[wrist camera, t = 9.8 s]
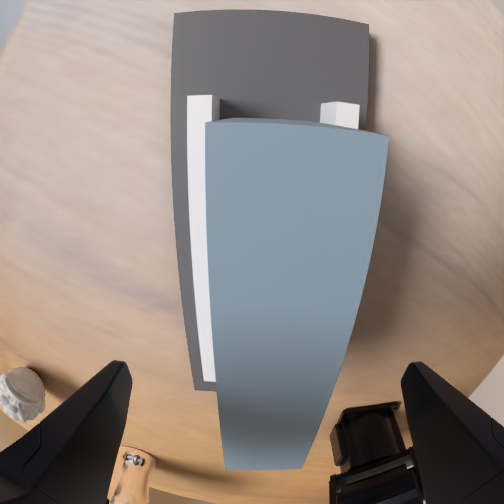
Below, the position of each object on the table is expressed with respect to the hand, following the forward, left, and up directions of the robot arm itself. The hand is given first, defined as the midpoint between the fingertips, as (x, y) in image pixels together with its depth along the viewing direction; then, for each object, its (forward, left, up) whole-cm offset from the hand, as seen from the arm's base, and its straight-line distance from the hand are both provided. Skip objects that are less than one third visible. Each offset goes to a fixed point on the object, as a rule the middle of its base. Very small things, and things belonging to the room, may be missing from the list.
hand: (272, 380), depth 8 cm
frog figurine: (+25, +17, -11) cm, 32 cm away
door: (0, 0, -10) cm, 10 cm away
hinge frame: (0, 0, -11) cm, 11 cm away
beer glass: (+16, +33, -11) cm, 38 cm away
